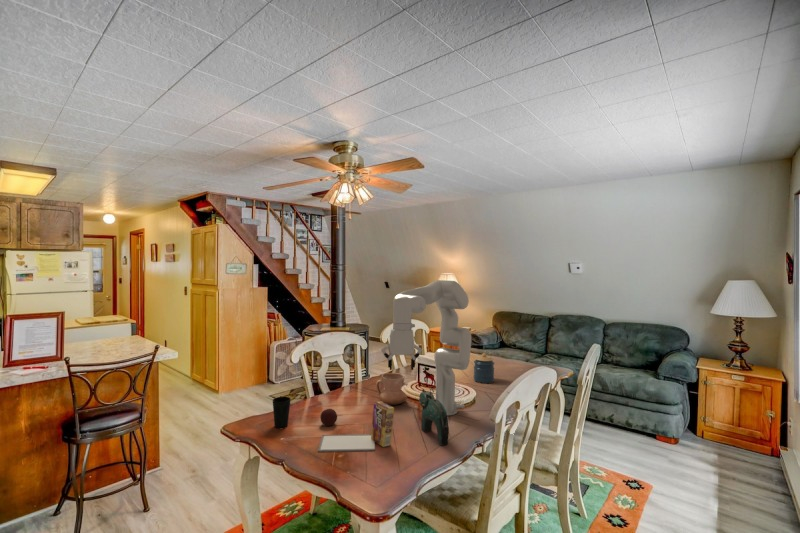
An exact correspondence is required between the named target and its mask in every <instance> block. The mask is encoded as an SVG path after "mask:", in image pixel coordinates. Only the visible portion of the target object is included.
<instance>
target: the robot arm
mask: <svg viewBox="0 0 800 533" xmlns="http://www.w3.org/2000/svg"><path fill="white" fill-rule="evenodd" d="M469 302H470V301H469V296H468V293H467V292H466V291H465V289H464V288H463V287H462V286H461V284H460V283H459V282H457V281H455V280H446V279H445V280H442V279H441V280H440V279H439V280H433V282H430V283H428V284H427V285H425V286H421V287H416V288H413V289H408V290H407V289H406V290H404V291H402V292H400V293H398V294H397V295H395V296H394V298H393V301H392V305H393V306H392V308H393V309H392V312H393V313H392V314H393V315H392V318H393V319H392V329H391V330H390V333H389V334H390V335H389V343H388V344H387V345H386V346H384V347H382V348H381V349H380V351H381V352H382V354H383V357H385V358H386V359H387V365H388V366H387V368H389V371H392V370H393V359H392V358H393V357H394V356H410V357H411V358H410V370H412V371H413V370H414V368H416V359H417V358H419V356H420V355H421V354H422V352H423V348H421V347H419V346H418V345H417V344H415V337H414V336H415V335H414V330H413V328H416V324H415V323H412V314H420V313H423V312H424V311H425V309H426V308H427V305H432V304H434V303H435V304H436V306H437V308H438V310H439V312H440V315H441V322H440V330H439V341H440V343H441V344H442V345H445V346H450V347H451V348H449V347H439V348H437V349H436V351H435V352H434V364H435V400H438V401H440V402H441V403H442V404H443V406H444V408H445V410H446V413H447V417H448V416H454V415H457V413H458V411H459V410H458V409H465V404H462V403H461V402H456V376H455V375H456V374H455V372H454V370H459V371H466V370H467V369H468V367H469V365H470V359H471V348H472V333H471V331H470V330H469V329H468V328H466V327H459V325H458V324H459V315H458V313H457V310H465V309H466V308H467V307H468V306H469ZM452 347H458V348H459V349H456V348H452ZM387 350H389V354H388V353H387ZM415 350H417V352H416V353H415ZM414 353H415V354H414ZM453 369H454V370H453Z"/></svg>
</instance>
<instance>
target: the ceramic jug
mask: <svg viewBox="0 0 800 533" xmlns="http://www.w3.org/2000/svg"><path fill="white" fill-rule="evenodd" d="M404 381H405V374H402V373H398V372H396V373H395V372H387V373H382V374H381V379H378V380H377V381H376V382H375V386H376V390H377V392H378V398H379V400H380V401H382V402H384V403H386V404H388V405H389V406H393V405H394V406H395V405H401V404H402V403H404V402H405V401H407V398H408V396H407V394H406V392H405V391H403V390H402V387H404V386H406V387H407V386H408V385H409V383H408V382H404ZM379 384H381V385H383V387H384V389H383V390H382V391H381V389H380V386H379Z"/></svg>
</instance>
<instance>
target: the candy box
mask: <svg viewBox="0 0 800 533" xmlns="http://www.w3.org/2000/svg"><path fill="white" fill-rule="evenodd" d="M394 414H395V407H393V405H390V404H386V403H384V402H382V401H381V400H380V401H375V402H373V411H372V423H371V430H370V431H371V433H370V434H371V439H372V440H373V441H375V443H376V444H378V445H379V446H381V447H383V448H385V447H389V446H391V445H392V436H393V435H392V434H393V433H392V432H393V425H394V424H393V423H394Z"/></svg>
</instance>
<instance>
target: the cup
mask: <svg viewBox="0 0 800 533" xmlns="http://www.w3.org/2000/svg"><path fill="white" fill-rule="evenodd" d="M290 408H291V397H288V396H278V397H275V398H273V399H272V410H273V423H274V428H275V429H277V428H279V430H281V429H280V428H283V429H286V428H287V427H288V426H289V425H288V424H289V416H290ZM285 427H286V428H285Z"/></svg>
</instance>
